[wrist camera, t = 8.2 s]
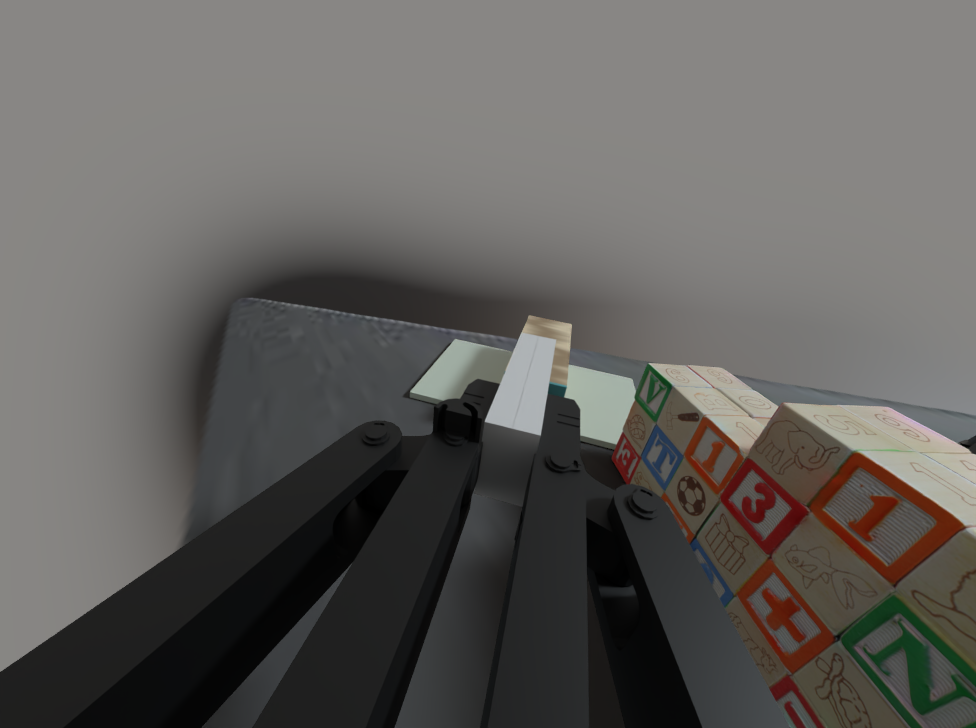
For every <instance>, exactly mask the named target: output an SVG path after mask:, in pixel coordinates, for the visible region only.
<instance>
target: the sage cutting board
mask: <svg viewBox="0 0 976 728" xmlns="http://www.w3.org/2000/svg"><path fill="white" fill-rule="evenodd" d="M512 354H513V352H511V351H506V350H502V349H497V348H493V347H488V346H484V345H480V344H475V343H471V342H466V341H462V340H457V339H455V340H454V341H453V342H452V343H451V345H450V346H449V347H448V348H447V349H446V350H445V352H444V353H443V354H442V355H441V356H440V357H439V359H438V360H437V361H436V362H435V363H434V364H433V366H432V367H431V368H430V369H429V370H428V371H427V373H426V374H425V375H424V376H423V377H422V378H421V380H420V381H419V382H418V383H417V384H416V385H415V387H414V388H413V389H412V390H411V391H410V398H414V399H418V400H422V401H426V402H430V403H434V404H438V403H439V402H441V401H444V400H447V399H455V398H457V399H460V398H461V396H462V394H463V393H464V391H465V389H466V388H467V386H468V384H470V383H471V382H473V381H475V380H476V379H481V380H486V381H490V382H494V383H499V384H500V383H501V381H502V378H503V376H504V372H505V370H506V367H507V365H508V363H509V361H510V358H511V356H512ZM635 394H636V391H635V387H634V384H633V380H632V379H631V378H626V377H622V376H617V375H613V374H608V373H604V372H600V371H595V370H591V369H586V368H582V367H577V366H573V365H569V367H568V380H567V389H566V392H565V396H564V397H565V398H569V399H573V400H575V402H576V403H577V405H578V406H579V408H580V441H582V442H586V443H590V444H594V445H598V446H602V447H606V448H609V449H613V450H615V448H616V445H617V443H618V440H619V438H620V436H621V434H622V432H623V430H622V429H623V426H624V424H625V422H626V419H627V417H628V415H629V412H630V409H631V407H632V405H633V403H634V401H635V398H634V397H635Z"/></svg>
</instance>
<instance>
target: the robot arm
mask: <svg viewBox="0 0 976 728" xmlns="http://www.w3.org/2000/svg"><path fill="white" fill-rule="evenodd" d="M555 344H556V339H551V338H546V337H541V336H536V335H531V334H526V333H521V335H520V338H519V340H518V342H517V345H516V347H515V350H514V352H513V354H512V357H511V359H510V362H509V364H508V366H507V369H506V371H505V374H504V376H503V378H502V381H501V383H500V384H499V383H494V382H490V381H486V380H481V379H476V380H475V381H473V382H471V383H470V384H468V386H467V388H466V389H465V391H464V393H463V394H462V396H461V398H460V399H457V398H455V399H447V400H444V401H441V402H439V403H438V404H437V405H436V406H435V407H434V421H433V432H432V434H430V435H426V436H402V433H401V430H400V428H399V427H398V426H396V425H395V424H393V423H391V422H387V421H371V422H367V423H364V424H362V425H360V426H358V427H356V428H355V429H354V430H352V431H351V432H349V433H348V434H346V435H345V436H343V437H342V438H340V439H339V440H338V441H336V442H335V443H333V444H332V445H330V446H329V447H327V448H326V449H324V450H323V451H322V452H320V453H319V454H317V455H316V456H314V457H313V458H311V459H310V460H308V461H307V462H306V463H304V464H303V465H301V466H300V467H298V468H297V469H295V470H294V471H292V472H291V473H290V474H288V475H287V476H285V477H284V478H282V479H281V480H279V481H278V482H276V483H275V484H273V485H272V486H271V487H269V488H268V489H266V490H265V491H263V492H262V493H260V494H259V495H257V496H256V497H255V498H253V499H252V500H250V501H249V502H247V503H246V504H244V505H243V506H241V507H240V508H239V509H237V510H236V511H234V512H233V513H231V514H230V515H228V516H227V517H225V518H224V519H223V520H221V521H220V522H218V523H217V524H215V525H214V526H212V527H211V528H209V529H208V530H207V531H205V532H204V533H202V534H201V535H199V536H198V537H196V538H195V539H193V540H192V541H190V542H189V543H188V544H186V545H185V546H183V547H182V548H180V549H179V550H177V551H176V552H174V553H173V554H172V555H170V556H169V557H167V558H166V559H164V560H163V561H161V562H160V563H158V564H157V565H156V566H154V567H153V568H151V569H150V570H148V571H147V572H145V573H144V574H142V575H141V576H140V577H138V578H137V579H135V580H134V581H132V582H131V583H129V584H128V585H126V586H125V587H124V588H122V589H121V590H119V591H118V592H116V593H115V594H113V595H112V596H111V597H109V598H107V599H106V600H105V601H103V602H102V603H100V604H99V605H97V606H96V607H94V608H93V609H91V610H90V611H89V612H87V613H86V614H84V615H83V616H81V617H80V618H78V619H77V620H75V621H74V622H73V623H71V624H70V625H68V626H67V627H65V628H64V629H62V630H61V631H60V632H58V633H57V634H55V635H54V636H52V637H51V638H49V639H48V640H46V641H45V642H43V643H42V644H41V645H39V646H38V647H36V648H35V649H33V650H32V651H30V652H29V653H28V654H26V655H25V656H23V657H22V658H20V659H19V660H17V661H16V662H14V663H13V664H11V665H10V666H9V667H7V668H6V669H4V670H3V671H1V672H0V728H201V727H202V726H203V725H204V724H205V723H206V722H207V720H208V719H209V718H210V717H211V716H212V715H213V714H214V713H215V712H216V711H217V710H218V709H219V707H220V706H221V705H222V704H223V703H224V702H225V701H226V700H227V699H228V698H229V697H230V695H231V694H232V693H233V692H234V691H235V690H236V689H237V688H238V687H239V686H240V685H241V683H242V682H243V681H244V680H245V679H246V678H247V677H248V676H249V675H250V674H251V673H252V671H253V670H254V669H255V668H256V667H257V666H258V665H259V664H260V663H261V662H262V661H263V659H264V658H265V657H266V656H267V655H268V654H269V653H270V652H271V651H272V650H273V649H274V647H275V646H276V645H277V644H278V643H279V642H280V641H281V640H282V639H283V638H284V637H285V635H286V634H287V633H288V632H289V631H290V630H291V629H292V628H293V627H294V626H295V625H296V624H297V622H298V621H299V620H300V619H301V618H302V617H303V616H304V615H305V614H306V613H307V612H308V610H309V609H310V608H311V607H312V606H313V605H314V604H315V603H316V602H317V601H318V600H319V598H320V597H321V596H322V595H323V594H324V593H325V592H326V591H327V590H328V589H329V588H330V586H331V585H332V584H333V583H334V582H335V581H336V580H337V579H338V578H339V577H340V576H341V574H342V573H343V572H344V571H345V570H346V569H347V568H348V567H349V566H350V565H351V564H352V565H351V567H350V568H349V570H348V572H347V573H346V575H345V576H344V578H343V580H342V581H341V583H340V585H339V586H338V588H337V590H336V591H335V593H334V595H333V596H332V598H331V599H330V601H329V603H328V604H327V606H326V608H325V609H324V611H323V613H322V614H321V616H320V617H319V619H318V621H317V622H316V624H315V626H314V627H313V629H312V631H311V632H310V634H309V636H308V637H307V639H306V640H305V642H304V644H303V645H302V647H301V649H300V650H299V652H298V654H297V655H296V657H295V659H294V660H293V662H292V663H291V665H290V667H289V668H288V670H287V672H286V673H285V675H284V677H283V678H282V680H281V682H280V683H279V685H278V686H277V688H276V690H275V691H274V693H273V695H272V696H271V698H270V700H269V701H268V703H267V704H266V706H265V708H264V709H263V711H262V713H261V714H260V716H259V718H258V719H257V721H256V723H255V724H254V726H253V727H252V728H394V727H395V724H396V722H397V719H398V716H399V713H400V710H401V707H402V704H403V701H404V698H405V695H406V693H407V690H408V687H409V684H410V681H411V678H412V675H413V672H414V669H415V666H416V664H417V661H418V658H419V655H420V652H421V649H422V646H423V643H424V640H425V637H426V634H427V632H428V629H429V626H430V623H431V620H432V617H433V614H434V611H435V608H436V605H437V603H438V600H439V597H440V594H441V591H442V588H443V585H444V582H445V579H446V576H447V574H448V571H449V568H450V565H451V562H452V559H453V556H454V553H455V550H456V547H457V544H458V542H459V539H460V536H461V533H462V530H463V527H464V524H465V521H466V518H467V515H468V513H469V510H470V504H471V497H472V494H473V491H474V488H475V492H474V494H477V495H481V496H485V497H488V498H492V499H495V500H499V501H502V502H506V503H509V504H513V505H516V506H520V507H522V512H521V516H520V520H519V524H518V528H517V532H516V536H515V546H514V551H513V556H512V562H511V567H510V572H509V577H508V583H507V588H506V593H505V599H504V604H503V609H502V614H501V620H500V625H499V630H498V636H497V641H496V646H495V651H494V657H493V662H492V667H491V673H490V678H489V683H488V689H487V694H486V699H485V704H484V710H483V715H482V720H481V726H480V728H589V685H588V615H587V576H588V580H589V584H590V588H591V592H592V596H593V600H594V604H595V608H596V612H597V616H598V620H599V624H600V628H601V632H602V636H603V640H604V644H605V648H606V652H607V656H608V660H609V664H610V668H611V672H612V676H613V680H614V684H615V688H616V692H617V696H618V700H619V704H620V708H621V712H622V716H623V720H624V724H625V728H791V727H790V726H789V724H788V722H787V720H786V718H785V717H784V715H783V713H782V711H781V709H780V707H779V706H778V704H777V702H776V700H775V698H774V697H773V695H772V693H771V691H770V689H769V687H768V686H767V684H766V682H765V680H764V678H763V677H762V675H761V673H760V671H759V669H758V668H757V666H756V664H755V662H754V660H753V658H752V657H751V655H750V653H749V651H748V649H747V648H746V646H745V644H744V642H743V640H742V638H741V637H740V635H739V633H738V631H737V629H736V628H735V626H734V624H733V622H732V620H731V619H730V617H729V615H728V613H727V611H726V609H725V608H724V606H723V604H722V602H721V600H720V599H719V597H718V595H717V593H716V591H715V589H714V588H713V586H712V584H711V582H710V580H709V579H708V577H707V575H706V573H705V571H704V570H703V568H702V566H701V564H700V562H699V560H698V559H697V557H696V555H695V553H694V551H693V550H692V548H691V546H690V544H689V542H688V540H687V539H686V537H685V535H684V533H683V531H682V530H681V528H680V526H679V524H678V522H677V521H676V519H675V517H674V515H673V513H672V511H671V510H670V508H669V507H668V505H667V504H666V503H665V501H664V500H663V499H662V498H661V497H659V496H658V495H657V494H656V493H654V492H653V491H651V490H649V489H647V488H645V487H643V486H639V485H635V484H625V485H622V486H620V487H618V488H617V489H616V491H615V490H613V489H611V488H609V487H607V486H605V485H604V484H602V483H600V482H598V481H597V480H595V479H594V478H593V477H592V476H590V475H589V474H588V473H587V471H586V470H585V467H584V463H583V462H582V461H581V458H580V408H579V406H578V405H577V403H576V402H575V400H573V399H569V398H565V397H560V396H556V395H551V394H548V387H549V381H550V375H551V369H552V363H553V357H554V350H555ZM957 444H959V445H961V446H963V447H965V448H967V449H969V451H970V452H971V453H972V454H975V455H976V436H974V437H972V438H970V439H969V440H964V441H961V442H959V443H957ZM353 561H354V562H353ZM352 562H353V563H352Z"/></svg>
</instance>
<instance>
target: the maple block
mask: <svg viewBox="0 0 976 728" xmlns="http://www.w3.org/2000/svg"><path fill="white" fill-rule="evenodd" d="M571 328H572V324H568V323H563V322H558V321H554V320H549V319H544V318H539V317H535V316H529V317H528V320H527V322H526V324H525V327H524V329H523V331H522V333H526V334H531V335H536V336H541V337H546V338H551V339H556V344H555V350H554V357H553V363H552V369H551V375H550V381H549V387H548V394H551V395H556V396H560V397H564V396H565V392H566V389H567V380H568V367H569V354H570V341H571ZM514 350H515V349H514ZM511 357H512V356H511ZM510 359H511V358H510ZM509 362H510V361H509ZM508 364H509V363H508ZM507 366H508V365H507ZM506 369H507V367H506ZM505 371H506V370H505ZM504 374H505V372H504Z"/></svg>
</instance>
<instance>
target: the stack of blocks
mask: <svg viewBox="0 0 976 728" xmlns="http://www.w3.org/2000/svg"><path fill="white" fill-rule="evenodd" d="M634 398H635V401H634V403H633V405H632V407H631V409H630V412H629V415H628V417H627V419H626V422H625V424H624V426H623V429H622V430H623V432H622V434H621V436H620V438H619V440H618V443H617V445H616V448H615V450H614V453H613V455H612V458H611V459H612V461H613V462H614V464H615V466H616V467H617V469H618V470H619V472H620V474H621V475H622V477H623V479H624V481H625V482H626V484H635V485H639V486H643V487H645V488H647V489H649V490H651V491H653V492H654V493H656V494H657V495H658V496H659V497H661V498H662V499H663V500H664V501H665V503H666V504H667V505H668V507H669V508H670V510H671V511H672V513H673V515H674V517H675V519H676V521H677V522H678V524H679V526H680V528H681V530H682V531H683V533H684V535H685V537H686V539H687V540H688V542H689V544H690V546H691V548H692V550H693V551H694V553H695V555H696V557H697V559H698V560H699V562H700V564H701V566H702V568H703V570H704V571H705V573H706V575H707V577H708V579H709V580H710V582H711V584H712V586H713V588H714V589H715V591H716V593H717V595H718V597H719V599H720V600H721V602H722V604H723V606H724V608H725V609H726V611H727V613H728V615H729V617H730V619H731V620H732V622H733V624H734V626H735V628H736V629H737V631H738V633H739V635H740V637H741V638H742V640H743V642H744V644H745V646H746V648H747V649H748V651H749V653H750V655H751V657H752V658H753V660H754V662H755V664H756V666H757V668H758V669H759V671H760V673H761V675H762V677H763V678H764V680H765V682H766V684H767V686H768V687H769V689H770V691H771V693H772V695H773V697H774V698H775V700H776V702H777V704H778V706H779V707H780V709H781V711H782V713H783V715H784V717H785V718H786V720H787V722H788V724H789V726H790V727H791V728H976V455H975V454H972V453H971V452H970V451H969V449H967V448H965V447H963V446H961V445H959V444H957V443H956V442H954V441H952V440H950V439H948V438H946V437H944V436H942V435H940V434H938V433H937V432H935V431H933V430H931V429H929V428H927V427H925V426H923V425H921V424H919V423H918V422H916V421H914V420H912V419H910V418H908V417H906V416H904V415H902V414H900V413H899V412H897V411H895V410H893V409H891V408H889V407H879V406H851V405H836V406H833V405H812V404H797V403H782V404H781V405H780V406H779V407H778V406H776V405H775V404H774V403H772V402H771V401H769V400H768V399H766V398H765V397H764V396H762V395H761V394H759V393H758V392H756V391H754V390H752V389H751V388H750V387H749V386H747V385H746V384H744V383H743V382H742V381H740V380H739V379H737V378H736V377H735V376H733V375H732V374H730V373H729V372H727V371H726V370H724V369H723V368H717V367H703V366H692V365H687V366H681V365H668V364H653V363H648V364H647V366H646V369H645V371H644V374H643V376H642V379H641V381H640V383H639V386H638V388H637V391H636V394H635V397H634Z"/></svg>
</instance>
